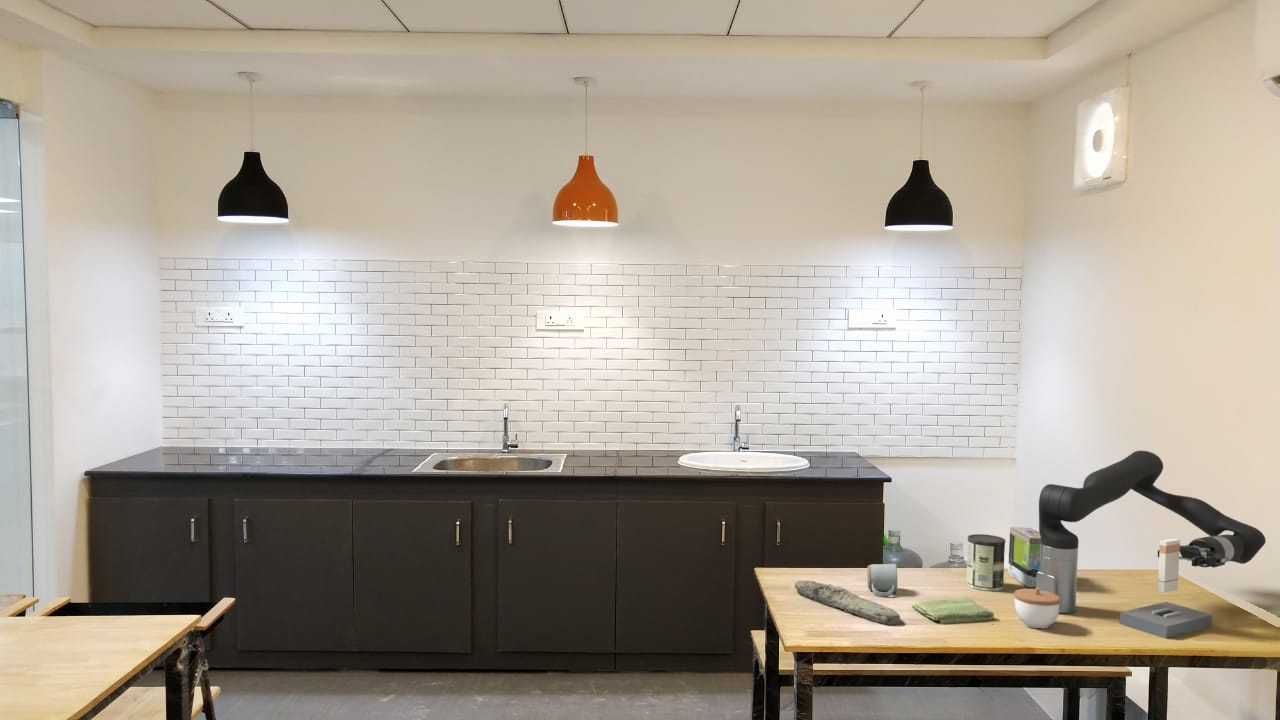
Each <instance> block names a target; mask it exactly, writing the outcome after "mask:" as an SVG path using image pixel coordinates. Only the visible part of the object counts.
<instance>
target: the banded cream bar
mask: <svg viewBox="0 0 1280 720" xmlns="http://www.w3.org/2000/svg"><path fill="white" fill-rule="evenodd" d="M1180 546H1181V539H1178V538H1167V539H1161V540H1159V548H1158V550H1159V558H1158V575H1157V577H1158V579H1157V592H1159V593H1162V594H1164V593H1169V592H1175V591H1178V589H1179V587H1178V586H1179V585H1178V584H1179V569H1180V568H1179V567H1180V566H1179V565H1180V559H1179V557H1180V552H1179V551H1180Z"/></svg>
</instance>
